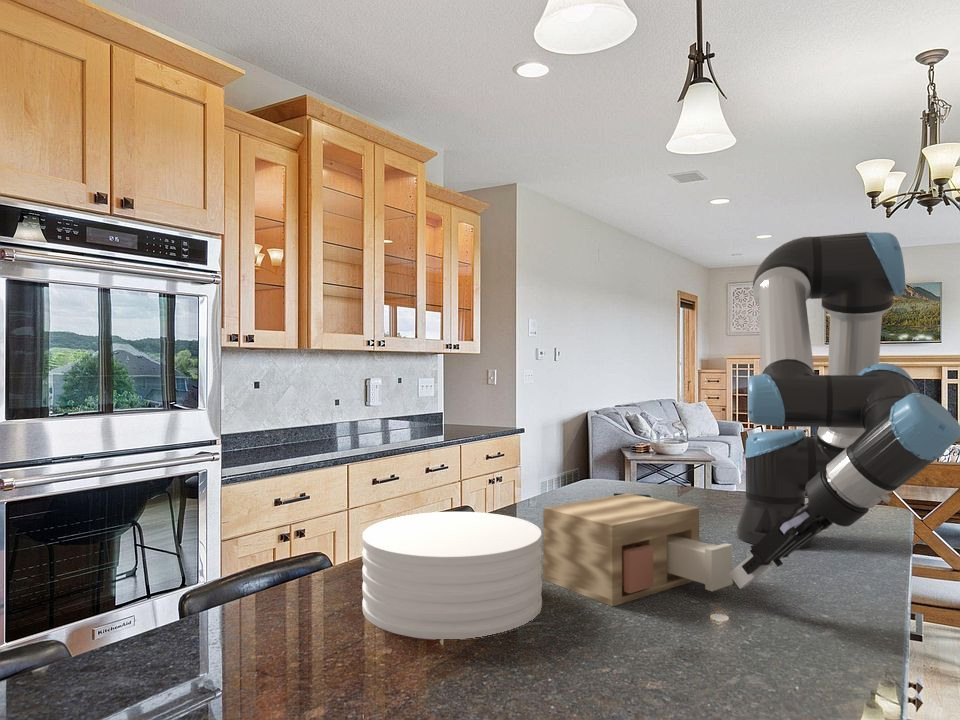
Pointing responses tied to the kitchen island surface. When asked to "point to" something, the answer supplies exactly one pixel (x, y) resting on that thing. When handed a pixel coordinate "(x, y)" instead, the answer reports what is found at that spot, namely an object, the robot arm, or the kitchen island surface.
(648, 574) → the rust plug
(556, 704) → the kitchen island surface
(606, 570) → the wooden box
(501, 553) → the plate stack
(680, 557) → the cream plug
